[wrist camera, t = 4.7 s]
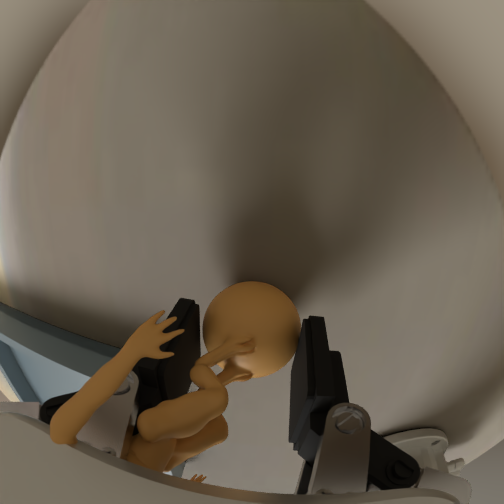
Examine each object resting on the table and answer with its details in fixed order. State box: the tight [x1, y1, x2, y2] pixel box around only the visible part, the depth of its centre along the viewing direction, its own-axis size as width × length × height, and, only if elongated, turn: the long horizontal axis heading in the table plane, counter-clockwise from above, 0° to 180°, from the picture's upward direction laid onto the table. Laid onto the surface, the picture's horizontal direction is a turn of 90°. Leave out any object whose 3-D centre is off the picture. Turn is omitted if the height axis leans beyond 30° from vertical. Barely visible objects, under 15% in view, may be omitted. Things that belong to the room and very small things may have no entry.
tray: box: [0, 302, 185, 478], centre depth 18 cm, size 18×16×3 cm
